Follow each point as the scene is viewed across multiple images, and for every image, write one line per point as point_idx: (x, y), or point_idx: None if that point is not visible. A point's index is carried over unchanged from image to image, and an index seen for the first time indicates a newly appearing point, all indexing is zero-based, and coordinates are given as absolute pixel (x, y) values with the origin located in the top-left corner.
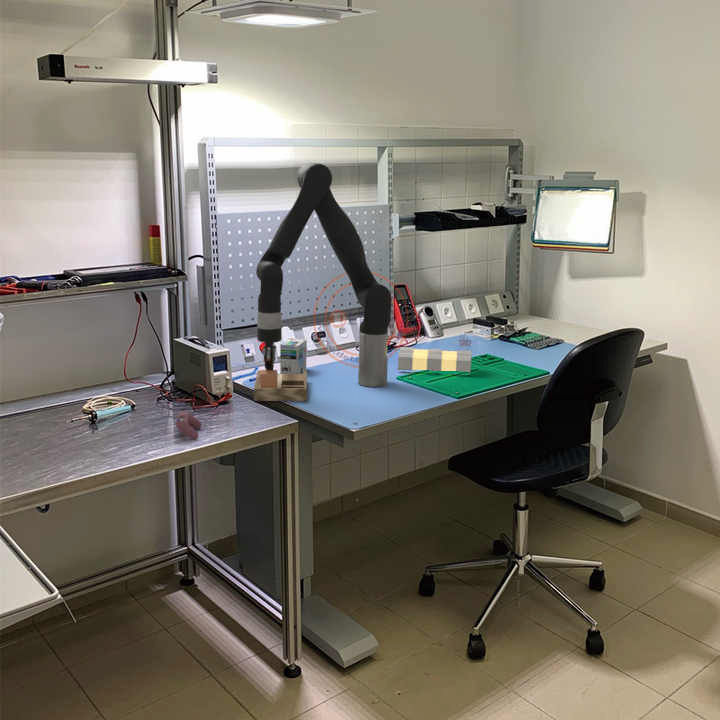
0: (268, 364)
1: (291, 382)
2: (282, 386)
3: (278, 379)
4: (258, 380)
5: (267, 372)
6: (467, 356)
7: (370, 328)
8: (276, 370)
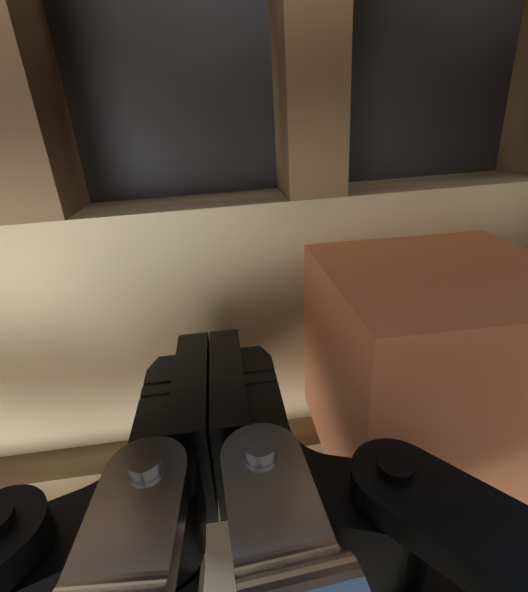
0: (410, 576)
1: (38, 75)
2: (345, 179)
3: (24, 266)
4: None
5: (515, 457)
6: None
7: None
8: (405, 350)
